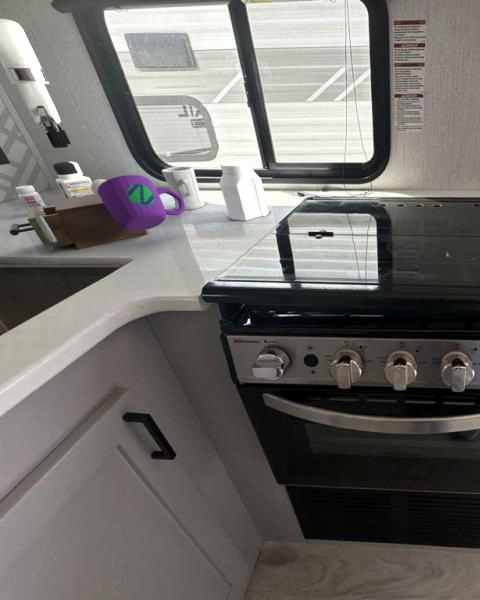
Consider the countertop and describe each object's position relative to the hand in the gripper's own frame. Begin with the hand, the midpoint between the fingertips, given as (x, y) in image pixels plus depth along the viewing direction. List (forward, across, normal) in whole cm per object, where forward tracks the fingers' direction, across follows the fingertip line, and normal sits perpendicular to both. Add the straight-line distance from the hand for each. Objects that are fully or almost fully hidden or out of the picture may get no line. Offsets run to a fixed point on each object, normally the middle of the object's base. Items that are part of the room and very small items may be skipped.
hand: (62, 146), depth 99 cm
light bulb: (+20, +5, +5) cm, 21 cm away
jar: (+20, +39, +39) cm, 58 cm away
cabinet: (+20, +33, +4) cm, 38 cm away
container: (+20, -19, -4) cm, 27 cm away
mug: (+15, +45, +16) cm, 50 cm away
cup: (+20, +17, +26) cm, 37 cm away
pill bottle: (+20, -8, -15) cm, 26 cm away
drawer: (+19, +34, -4) cm, 39 cm away
